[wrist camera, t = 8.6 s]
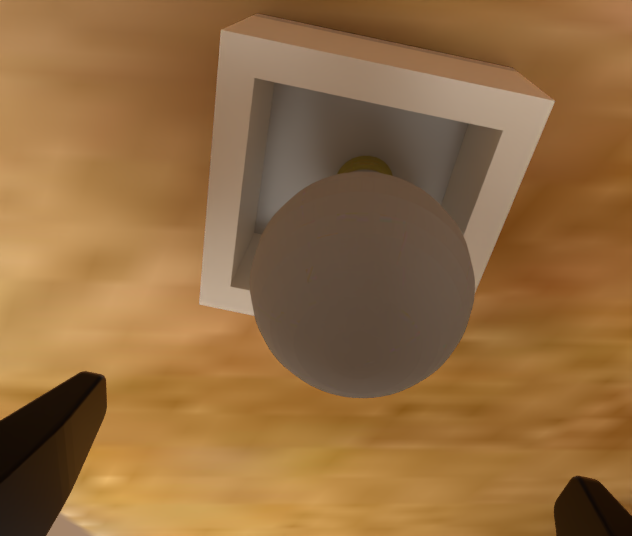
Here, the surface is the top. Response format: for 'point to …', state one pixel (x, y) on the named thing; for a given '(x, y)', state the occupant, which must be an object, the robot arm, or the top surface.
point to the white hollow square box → (356, 135)
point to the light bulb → (362, 282)
